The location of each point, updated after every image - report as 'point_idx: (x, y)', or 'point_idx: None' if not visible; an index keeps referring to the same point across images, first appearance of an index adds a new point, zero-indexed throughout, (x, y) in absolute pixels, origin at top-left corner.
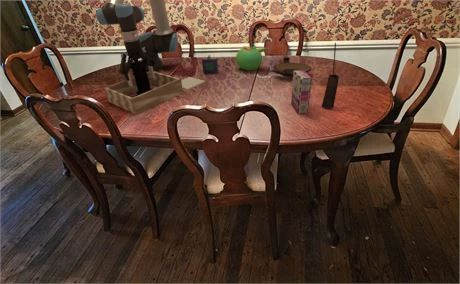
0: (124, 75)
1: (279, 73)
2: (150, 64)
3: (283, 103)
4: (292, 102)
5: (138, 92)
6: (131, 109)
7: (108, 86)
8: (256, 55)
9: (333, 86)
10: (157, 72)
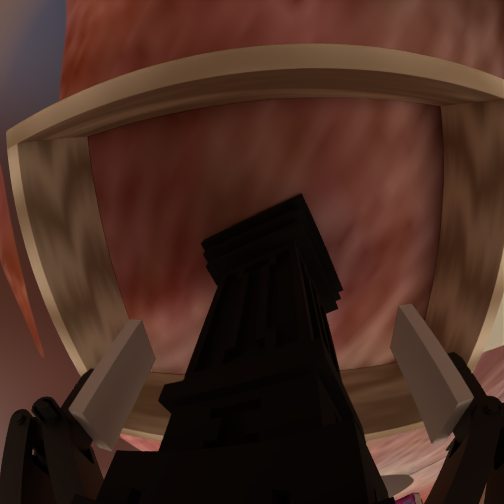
0: (63, 405)
1: None
2: (445, 460)
3: (412, 490)
4: (406, 501)
5: (217, 283)
6: None
7: (27, 123)
8: None
9: None
10: None
